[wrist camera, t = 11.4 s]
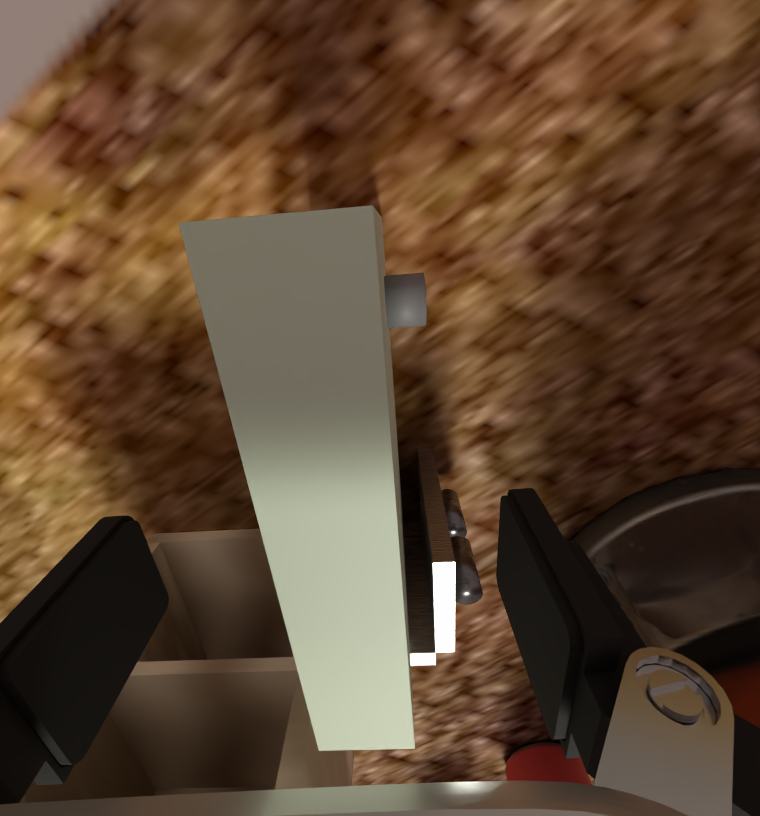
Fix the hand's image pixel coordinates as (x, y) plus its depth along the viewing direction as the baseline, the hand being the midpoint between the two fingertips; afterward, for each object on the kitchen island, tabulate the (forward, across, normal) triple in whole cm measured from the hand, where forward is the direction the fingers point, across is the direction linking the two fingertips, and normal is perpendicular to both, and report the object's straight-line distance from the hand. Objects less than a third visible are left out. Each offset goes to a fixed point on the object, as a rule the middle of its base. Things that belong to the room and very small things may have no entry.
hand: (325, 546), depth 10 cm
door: (+11, -1, 0) cm, 11 cm away
